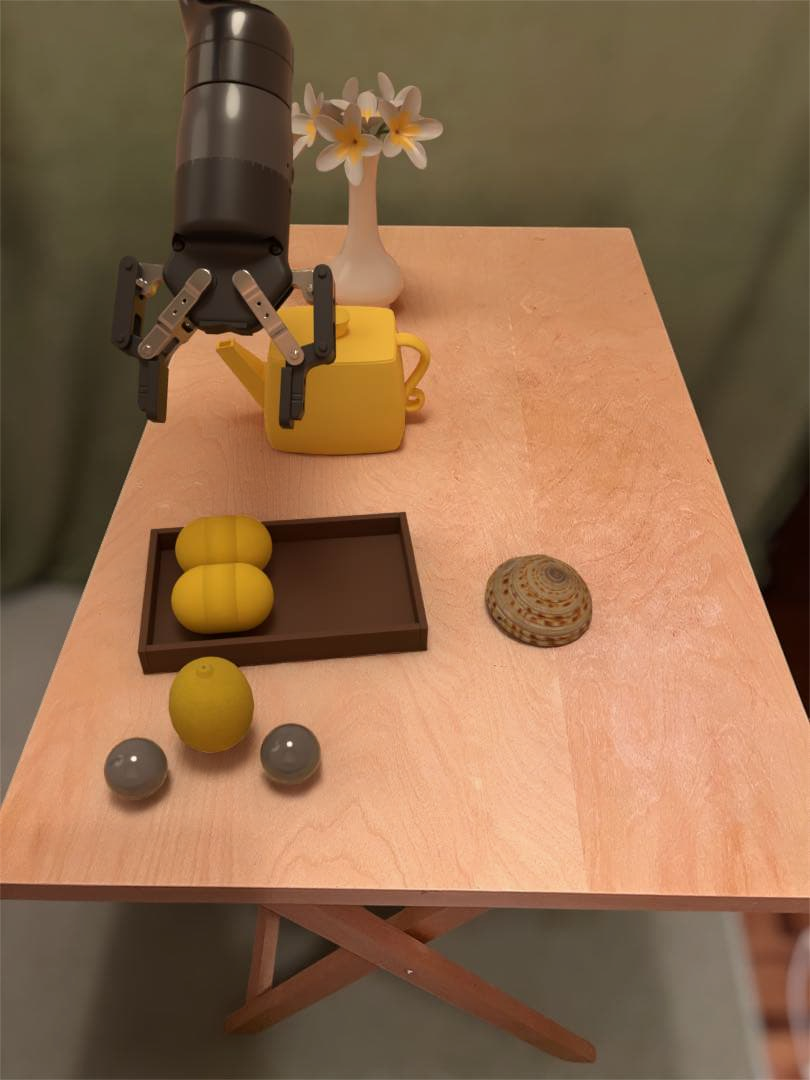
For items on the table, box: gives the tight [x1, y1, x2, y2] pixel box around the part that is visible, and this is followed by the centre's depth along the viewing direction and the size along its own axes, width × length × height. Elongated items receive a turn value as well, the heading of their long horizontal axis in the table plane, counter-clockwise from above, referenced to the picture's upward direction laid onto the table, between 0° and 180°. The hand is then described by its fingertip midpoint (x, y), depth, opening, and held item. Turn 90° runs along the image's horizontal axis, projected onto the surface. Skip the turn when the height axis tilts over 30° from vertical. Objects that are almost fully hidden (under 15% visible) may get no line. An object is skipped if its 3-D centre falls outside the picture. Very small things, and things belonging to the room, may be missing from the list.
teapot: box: [215, 305, 431, 456], centre depth 87 cm, size 20×12×12 cm, turn 92°
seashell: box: [485, 553, 593, 647], centre depth 73 cm, size 8×6×8 cm
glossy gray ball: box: [103, 736, 169, 801], centre depth 59 cm, size 4×4×4 cm
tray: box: [137, 511, 429, 675], centre depth 72 cm, size 21×13×3 cm, turn 97°
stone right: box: [259, 722, 322, 786], centre depth 60 cm, size 4×4×4 cm
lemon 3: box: [168, 657, 255, 754], centre depth 61 cm, size 6×6×8 cm
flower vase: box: [291, 71, 444, 309], centre depth 99 cm, size 13×18×25 cm
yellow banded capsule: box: [175, 514, 272, 572], centre depth 73 cm, size 8×5×5 cm
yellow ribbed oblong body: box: [171, 563, 274, 634], centre depth 69 cm, size 8×5×5 cm
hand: (221, 424), depth 59 cm, fingers open, 8 cm apart
